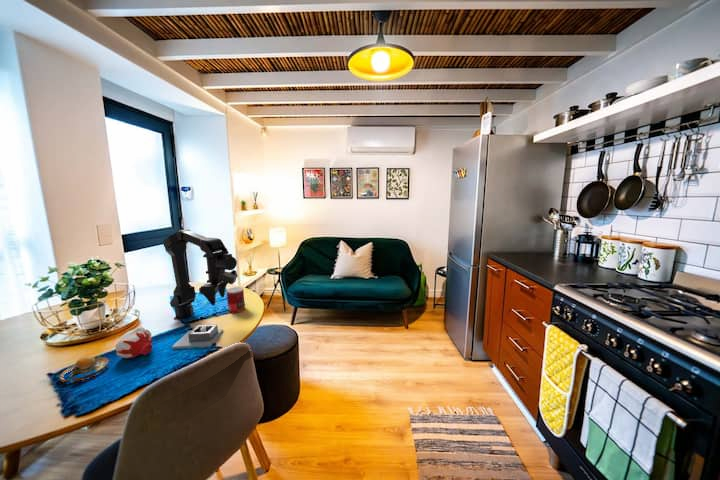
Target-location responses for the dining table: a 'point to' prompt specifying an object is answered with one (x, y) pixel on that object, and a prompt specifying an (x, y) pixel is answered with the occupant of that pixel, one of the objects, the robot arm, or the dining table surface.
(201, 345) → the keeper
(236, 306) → the canned food
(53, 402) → the dining table surface
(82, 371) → the ringed planet model
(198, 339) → the link
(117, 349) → the red white ovoid
